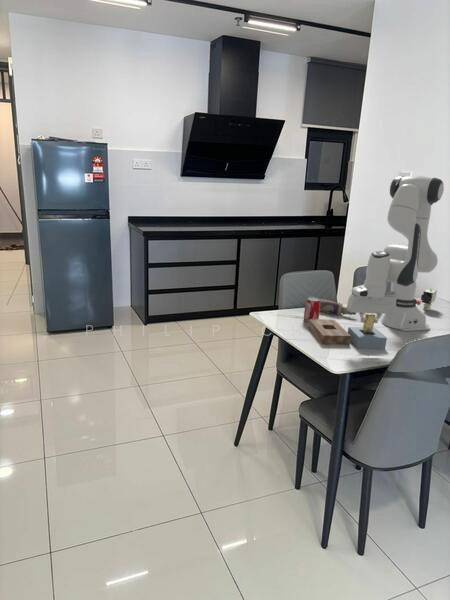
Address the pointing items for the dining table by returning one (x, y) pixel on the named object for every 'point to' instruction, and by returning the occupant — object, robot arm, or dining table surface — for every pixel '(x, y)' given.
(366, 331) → the brass pin
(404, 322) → the robot arm
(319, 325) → the wooden socket block
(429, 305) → the pneumatic valve
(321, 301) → the decorative bottle
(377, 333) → the dock block
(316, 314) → the soda can
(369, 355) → the dining table surface
